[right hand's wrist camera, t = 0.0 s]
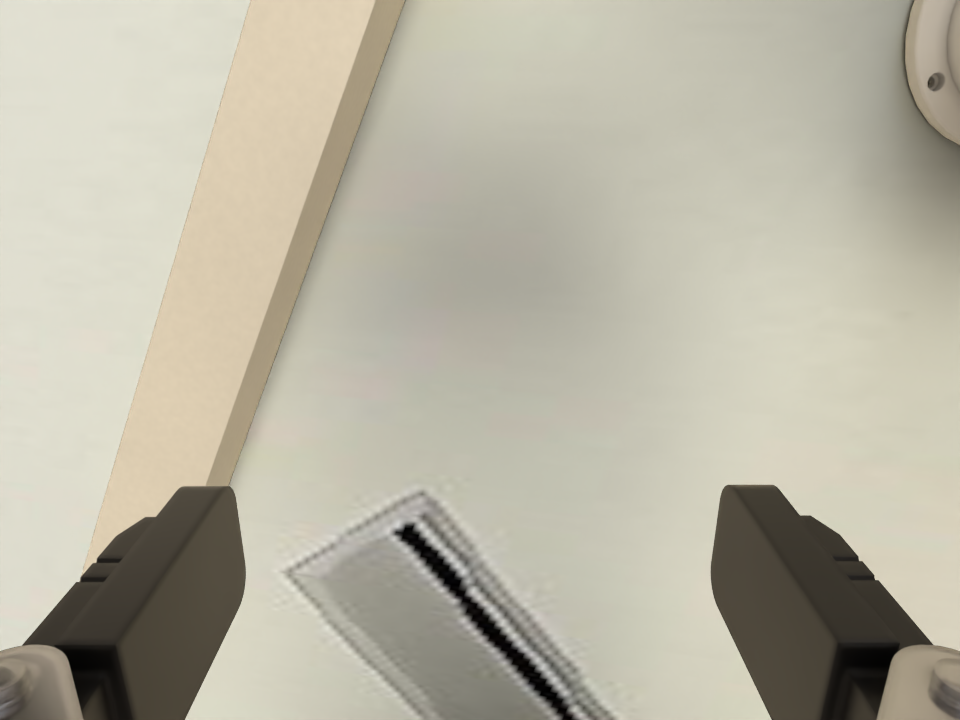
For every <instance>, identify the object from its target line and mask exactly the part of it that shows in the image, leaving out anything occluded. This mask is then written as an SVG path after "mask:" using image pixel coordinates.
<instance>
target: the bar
mask: <svg viewBox="0 0 960 720" xmlns="http://www.w3.org/2000/svg"><path fill="white" fill-rule="evenodd" d="M404 2H405V0H251V1H250V5H249V8H248V11H247V15H246V18H245V22H244V25H243V28H242V32H241V35H240V39H239V42H238V45H237V49H236V52H235V56H234V59H233V62H232V66H231V69H230V73H229V76H228V79H227V83H226V86H225V90H224V93H223V96H222V100H221V103H220V107H219V110H218V113H217V117H216V120H215V123H214V127H213V130H212V134H211V137H210V140H209V144H208V147H207V151H206V154H205V157H204V161H203V164H202V168H201V171H200V174H199V178H198V181H197V185H196V188H195V191H194V195H193V198H192V202H191V205H190V208H189V212H188V215H187V219H186V222H185V225H184V229H183V232H182V236H181V239H180V242H179V246H178V249H177V252H176V256H175V259H174V263H173V266H172V269H171V273H170V276H169V280H168V283H167V286H166V290H165V293H164V297H163V300H162V303H161V307H160V310H159V314H158V317H157V320H156V324H155V327H154V331H153V334H152V337H151V341H150V344H149V348H148V351H147V354H146V358H145V361H144V365H143V368H142V371H141V375H140V378H139V382H138V385H137V388H136V392H135V395H134V398H133V402H132V405H131V409H130V412H129V415H128V419H127V422H126V426H125V429H124V432H123V436H122V439H121V443H120V446H119V449H118V453H117V456H116V460H115V463H114V466H113V470H112V473H111V477H110V480H109V483H108V487H107V490H106V494H105V497H104V500H103V504H102V507H101V511H100V514H99V517H98V521H97V524H96V527H95V531H94V534H93V538H92V541H91V544H90V548H89V551H88V555H87V558H86V561H85V565H84V568H83V572H82V575H83V574H84V573H85V572H86V570H87V569H88V568H89V567H90V566H91V565H92V563H96V562H97V558H98V556H99V555H100V554H101V553H102V552H103V551H104V549H105V548H106V547H107V546H108V545H109V544H110V542H111V541H112V540H113V539H114V538H115V537H116V536H117V535H118V534H120V533H121V532H123V531H124V530H126V529H128V528H129V527H131V526H132V525H134V524H135V523H137V522H138V521H140V520H141V519H143V518H145V517H156V516H157V515H158V514H159V512H160V511H161V510H162V509H163V507H164V506H165V505H166V504H167V502H168V501H169V500H170V499H171V497H172V496H173V495H174V494H175V492H176V491H177V490H178V489H179V488H180V487H182V486H229V483H230V480H231V478H232V475H233V472H234V469H235V467H236V464H237V461H238V458H239V456H240V453H241V450H242V447H243V445H244V442H245V439H246V436H247V434H248V431H249V428H250V425H251V423H252V420H253V417H254V414H255V412H256V409H257V406H258V403H259V401H260V398H261V395H262V392H263V390H264V387H265V384H266V381H267V379H268V376H269V373H270V370H271V368H272V365H273V362H274V359H275V357H276V354H277V351H278V348H279V346H280V343H281V340H282V337H283V335H284V332H285V329H286V326H287V324H288V321H289V318H290V315H291V313H292V310H293V307H294V304H295V302H296V299H297V296H298V293H299V291H300V288H301V285H302V282H303V280H304V277H305V274H306V271H307V269H308V266H309V263H310V260H311V258H312V255H313V252H314V249H315V247H316V244H317V241H318V239H319V236H320V233H321V230H322V228H323V225H324V222H325V219H326V217H327V214H328V211H329V208H330V206H331V203H332V200H333V197H334V195H335V192H336V189H337V186H338V184H339V181H340V178H341V175H342V173H343V170H344V167H345V164H346V162H347V159H348V156H349V153H350V151H351V148H352V145H353V142H354V140H355V137H356V134H357V131H358V129H359V126H360V123H361V120H362V118H363V115H364V112H365V109H366V107H367V104H368V101H369V98H370V96H371V93H372V90H373V87H374V85H375V82H376V79H377V76H378V74H379V71H380V68H381V65H382V63H383V60H384V57H385V54H386V52H387V49H388V46H389V43H390V41H391V38H392V35H393V32H394V30H395V27H396V24H397V21H398V19H399V16H400V13H401V10H402V8H403V5H404ZM82 575H81V576H82ZM80 580H81V578H80Z"/></svg>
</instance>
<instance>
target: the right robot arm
mask: <svg viewBox="0 0 960 720" xmlns="http://www.w3.org/2000/svg"><path fill="white" fill-rule="evenodd" d="M245 579H246V568H245V560H244V552H243V545H242V538H241V531H240V524H239V517H238V510H237V503H236V497H235V494H234V491H233V490H232V488H231V487H229V486H182V487H180V488H179V489H178V490H177V491H176V492H175V494H174V495H173V496H172V497H171V499H170V500H169V501H168V502H167V504H166V505H165V506H164V507H163V509H162V510H161V511H160V512H159V514H158V515H157V516H156V517H145V518H143V519H141V520H140V521H138V522H137V523H135V524H134V525H132V526H131V527H129V528H128V529H126V530H124V531H123V532H121V533H120V534H118V535H117V536H116V537H115V538H114V539H113V540H112V541H111V542H110V544H109V545H108V546H107V547H106V548H105V549H104V551H103V552H102V553H101V554H100V555H99V556H98V558H97V562H96V563H92V565H91V566H90V567H89V568H88V569H87V570H86V572H85V573H84V574H83V575H82V576H81V580H80V582H76V583H75V584H74V586H73V587H72V588H71V589H70V590H69V591H68V593H67V594H66V595H65V596H64V597H63V598H62V600H61V601H60V602H59V603H58V604H57V605H56V607H55V608H54V609H53V610H52V611H51V612H50V614H49V615H48V616H47V617H46V618H45V619H44V621H43V622H42V623H41V624H40V625H39V626H38V628H37V629H36V630H35V631H34V632H33V633H32V635H31V636H30V637H29V638H28V639H27V640H26V642H25V643H24V644H23V645H22V646H18V647H14V648H9V649H6V650H3V651H0V720H185V718H186V716H187V714H188V712H189V710H190V708H191V706H192V703H193V701H194V699H195V697H196V695H197V693H198V691H199V689H200V687H201V685H202V683H203V681H204V679H205V677H206V675H207V673H208V671H209V668H210V666H211V664H212V662H213V660H214V658H215V656H216V654H217V652H218V650H219V648H220V646H221V644H222V642H223V640H224V638H225V636H226V633H227V631H228V629H229V627H230V625H231V623H232V621H233V619H234V617H235V615H236V613H237V611H238V609H239V606H240V604H241V601H242V598H243V593H244V588H245ZM711 583H712V590H713V595H714V598H715V601H716V604H717V606H718V609H719V611H720V613H721V615H722V617H723V619H724V621H725V623H726V625H727V627H728V629H729V632H730V634H731V636H732V638H733V640H734V642H735V644H736V646H737V648H738V650H739V652H740V654H741V657H742V659H743V661H744V663H745V665H746V667H747V669H748V671H749V673H750V675H751V677H752V679H753V682H754V684H755V686H756V688H757V690H758V692H759V694H760V696H761V698H762V700H763V702H764V704H765V707H766V709H767V711H768V713H769V715H770V717H771V719H772V720H960V651H957V650H954V649H951V648H946V647H942V646H935V645H933V644H932V643H931V642H930V640H929V639H928V638H927V637H926V636H925V635H924V633H923V632H922V631H921V630H920V629H919V628H918V626H917V625H916V624H915V623H914V622H913V620H912V619H911V618H910V617H909V616H908V615H907V613H906V612H905V611H904V610H903V609H902V608H901V606H900V605H899V604H898V603H897V602H896V600H895V599H894V598H893V597H892V596H891V595H890V593H889V592H888V591H887V590H886V589H885V588H884V586H883V585H882V584H881V583H880V582H879V580H875V579H874V575H873V573H872V572H871V571H870V570H869V569H868V567H867V566H866V565H865V564H864V563H863V562H862V561H859V559H858V556H857V555H856V553H855V552H854V551H853V550H852V549H851V547H850V546H849V545H848V544H847V543H846V542H845V540H844V539H843V538H842V537H841V536H840V535H839V534H838V533H836V532H835V531H833V530H832V529H830V528H829V527H827V526H826V525H824V524H822V523H821V522H819V521H818V520H816V519H815V518H813V517H812V516H800V515H799V514H798V513H797V511H796V510H795V509H794V508H793V506H792V505H791V504H790V503H789V501H788V500H787V499H786V498H785V496H784V495H783V494H782V492H781V491H780V490H779V489H778V488H777V487H776V486H774V485H727V486H725V487H724V489H723V491H722V494H721V498H720V504H719V511H718V518H717V526H716V533H715V540H714V547H713V554H712V561H711Z"/></svg>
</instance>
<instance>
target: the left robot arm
mask: <svg viewBox="0 0 960 720" xmlns="http://www.w3.org/2000/svg"><path fill="white" fill-rule="evenodd" d="M905 65H906V71H907V76H908V82H909V87H910V89H911V92H912V94H913V97H914V99H915V102H916V104H917V106H918V108H919V109H920V111H921V112H922V114H923V115H924V117H925V118H926V120H927V121H928V122H929V124H930V125H932V126H933V127H934V128H935V129H936V130H937V131H938V132H939V133H940V134H942V135H943V136H944V137H945V138H947V139H949V140H951V141H953V142H955V143H957V144H958V145H960V0H915V1H914V4H913V6H912V9H911V12H910V17H909V23H908V28H907V33H906V42H905ZM928 80H930V83H929V85H928Z"/></svg>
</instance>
